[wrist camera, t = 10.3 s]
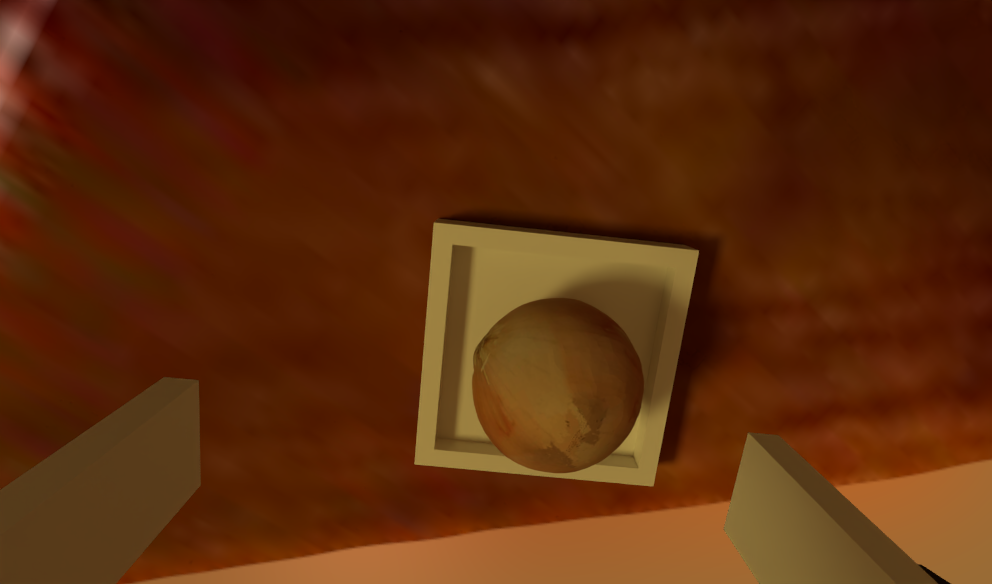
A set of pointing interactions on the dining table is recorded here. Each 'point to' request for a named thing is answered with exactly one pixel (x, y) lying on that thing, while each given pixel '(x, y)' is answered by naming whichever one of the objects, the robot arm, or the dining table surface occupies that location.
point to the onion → (557, 385)
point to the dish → (533, 276)
